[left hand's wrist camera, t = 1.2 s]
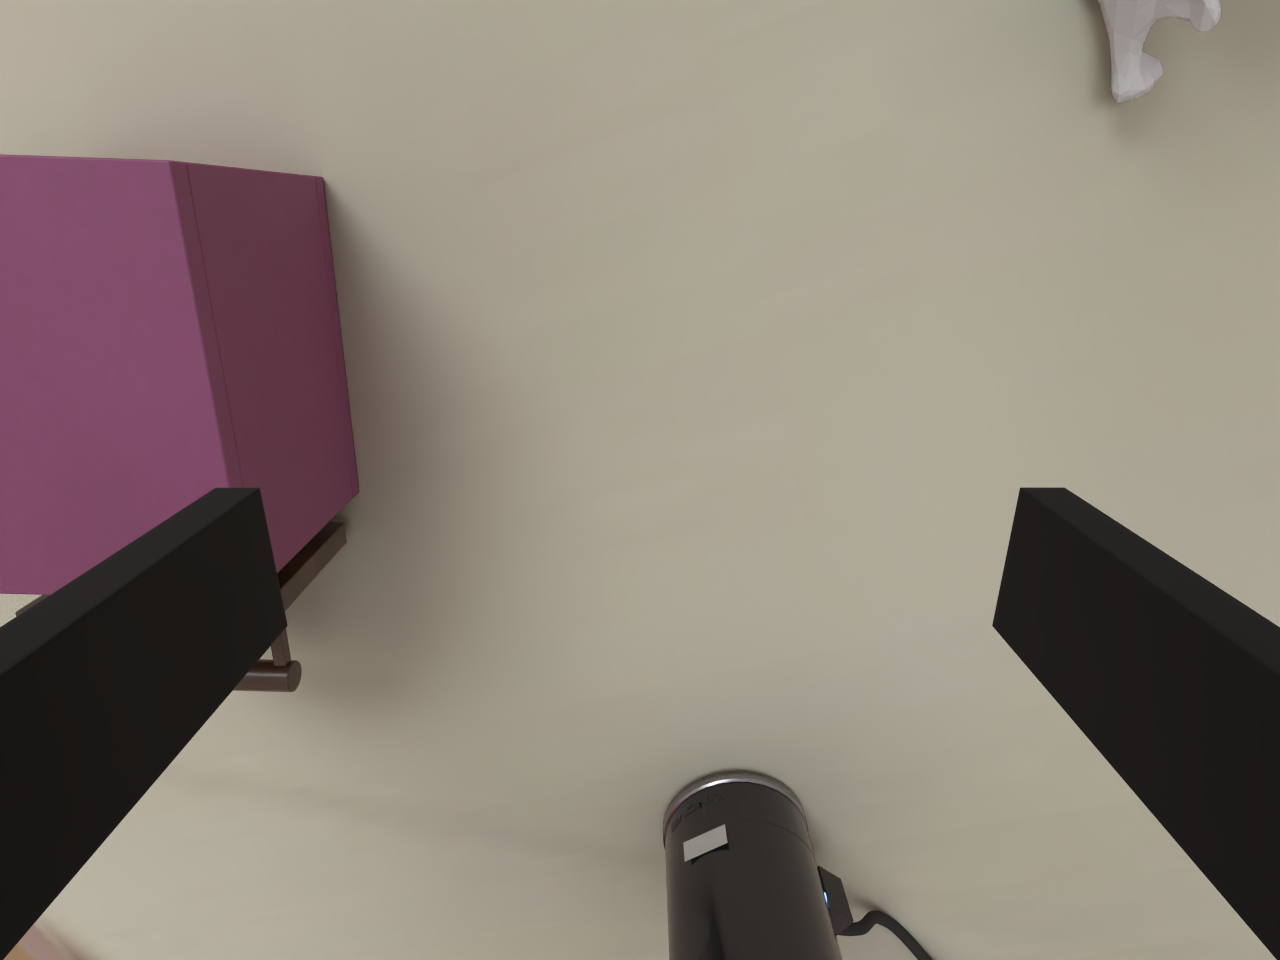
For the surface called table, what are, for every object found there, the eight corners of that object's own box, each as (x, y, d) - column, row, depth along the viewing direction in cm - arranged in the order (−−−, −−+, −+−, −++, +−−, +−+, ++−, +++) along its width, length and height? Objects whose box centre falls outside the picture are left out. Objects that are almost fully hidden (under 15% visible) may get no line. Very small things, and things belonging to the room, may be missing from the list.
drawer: (358, 629, 41) (277, 749, 32) (187, 624, 41) (56, 744, 32) (312, 262, 34) (190, 281, 25) (105, 255, 34) (-96, 271, 25)
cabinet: (359, 491, 39) (250, 601, 28) (157, 486, 39) (-32, 593, 28) (323, 177, 33) (169, 160, 22) (87, 168, 33) (-184, 148, 22)
